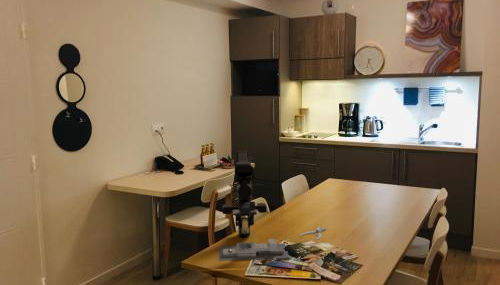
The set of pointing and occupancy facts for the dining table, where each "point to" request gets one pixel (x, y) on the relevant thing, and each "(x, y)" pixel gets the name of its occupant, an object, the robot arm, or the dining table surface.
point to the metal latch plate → (256, 247)
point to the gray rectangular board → (252, 257)
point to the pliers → (315, 231)
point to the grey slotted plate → (247, 255)
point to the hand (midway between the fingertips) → (245, 227)
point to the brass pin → (245, 224)
